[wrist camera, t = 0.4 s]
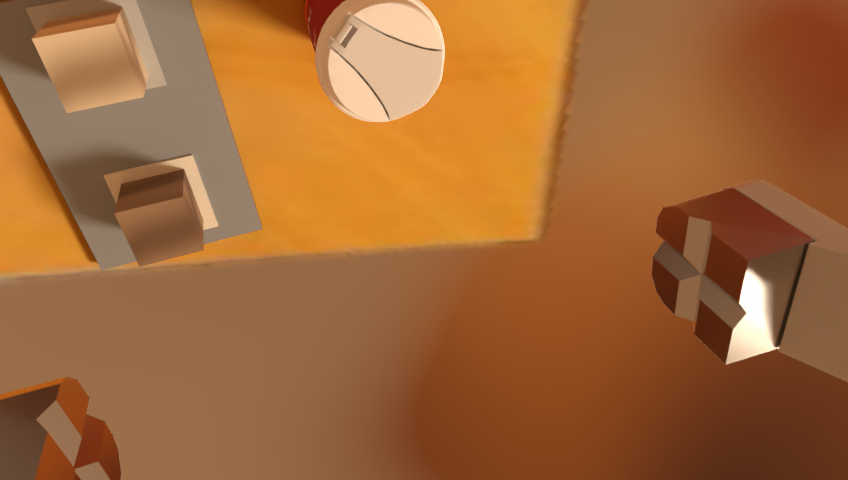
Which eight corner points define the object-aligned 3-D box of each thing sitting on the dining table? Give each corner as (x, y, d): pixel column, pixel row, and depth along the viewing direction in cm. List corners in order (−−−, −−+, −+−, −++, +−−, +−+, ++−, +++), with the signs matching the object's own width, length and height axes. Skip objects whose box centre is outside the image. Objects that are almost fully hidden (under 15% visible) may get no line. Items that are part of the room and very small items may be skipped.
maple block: (47, 20, 43) (31, 38, 39) (122, 6, 44) (114, 23, 40) (78, 89, 46) (66, 113, 42) (148, 75, 46) (143, 97, 42)
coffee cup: (268, 23, 48) (291, 83, 36) (328, -70, 46) (374, -39, 34) (354, 82, 53) (399, 153, 41) (412, 0, 51) (479, 49, 38)
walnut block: (121, 183, 50) (114, 213, 46) (184, 169, 51) (182, 196, 47) (144, 234, 53) (139, 266, 49) (203, 219, 54) (203, 250, 50)
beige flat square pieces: (-30, 6, 42) (-35, 10, 41) (180, -31, 45) (180, -28, 44) (103, 263, 54) (101, 271, 53) (261, 223, 57) (262, 230, 56)
